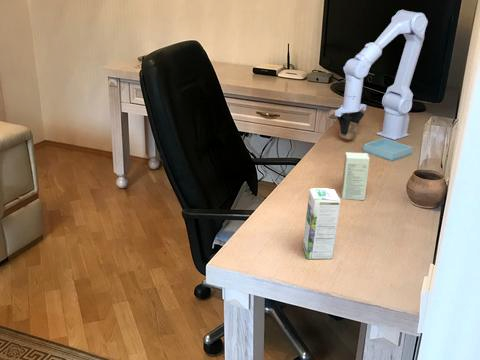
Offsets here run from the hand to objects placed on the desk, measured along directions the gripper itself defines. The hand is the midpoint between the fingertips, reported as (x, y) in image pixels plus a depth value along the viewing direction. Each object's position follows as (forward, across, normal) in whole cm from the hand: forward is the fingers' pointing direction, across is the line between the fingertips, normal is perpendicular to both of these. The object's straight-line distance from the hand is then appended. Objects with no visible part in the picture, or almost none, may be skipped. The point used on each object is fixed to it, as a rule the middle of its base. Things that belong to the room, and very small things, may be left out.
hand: (347, 132), depth 185 cm
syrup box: (+3, +65, +44) cm, 79 cm away
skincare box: (+3, +35, +30) cm, 46 cm away
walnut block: (+1, 0, 0) cm, 1 cm away
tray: (+3, -3, +15) cm, 16 cm away
